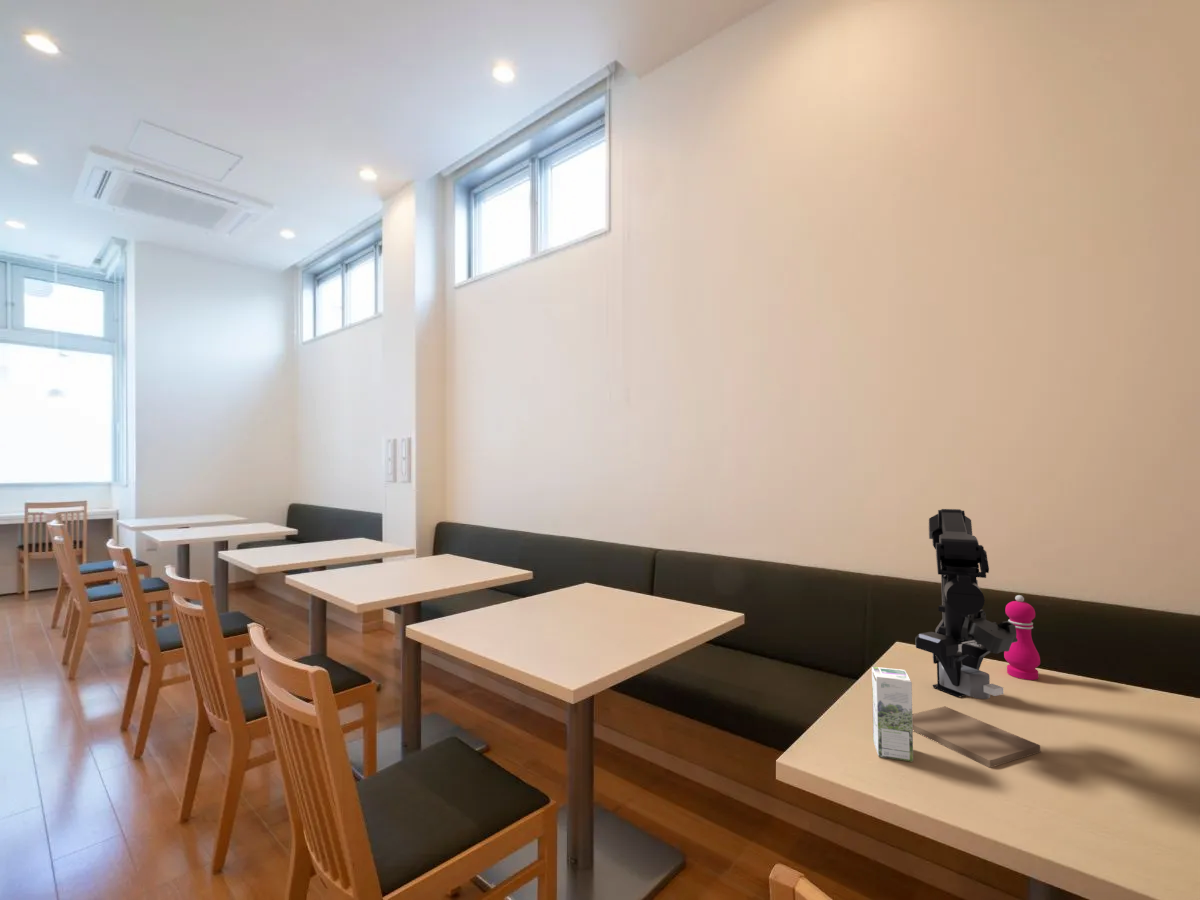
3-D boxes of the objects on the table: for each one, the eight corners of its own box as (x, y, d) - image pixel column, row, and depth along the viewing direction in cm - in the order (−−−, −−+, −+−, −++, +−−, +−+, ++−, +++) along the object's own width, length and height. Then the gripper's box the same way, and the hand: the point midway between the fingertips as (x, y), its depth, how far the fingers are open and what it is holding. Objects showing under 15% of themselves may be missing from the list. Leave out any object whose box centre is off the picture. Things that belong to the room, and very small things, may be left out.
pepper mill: (1028, 670, 139) (1025, 592, 140) (1048, 681, 132) (1045, 598, 133) (998, 669, 140) (995, 591, 141) (1016, 680, 133) (1013, 598, 134)
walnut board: (897, 723, 110) (897, 717, 110) (945, 711, 115) (945, 706, 115) (989, 767, 93) (989, 760, 93) (1040, 751, 99) (1040, 745, 99)
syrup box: (907, 747, 100) (904, 668, 101) (914, 763, 95) (911, 679, 96) (873, 742, 102) (871, 664, 103) (878, 758, 97) (875, 675, 97)
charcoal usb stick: (934, 683, 108) (934, 662, 108) (948, 680, 110) (947, 660, 110) (992, 704, 98) (991, 682, 98) (1006, 701, 99) (1005, 678, 100)
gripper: (970, 617, 95) (973, 708, 94) (1036, 607, 102) (1040, 692, 101) (912, 603, 105) (914, 685, 104) (976, 595, 112) (979, 672, 111)
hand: (963, 684), depth 105 cm, fingers closed on charcoal usb stick, 4 cm apart
